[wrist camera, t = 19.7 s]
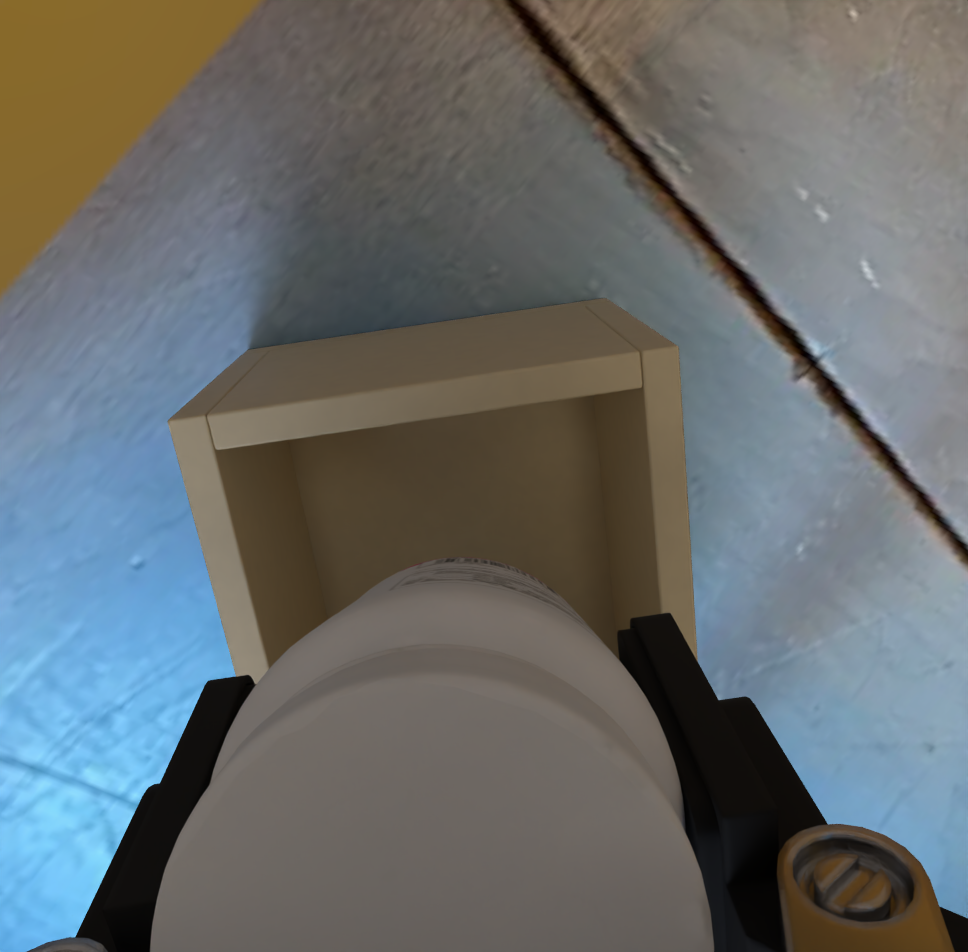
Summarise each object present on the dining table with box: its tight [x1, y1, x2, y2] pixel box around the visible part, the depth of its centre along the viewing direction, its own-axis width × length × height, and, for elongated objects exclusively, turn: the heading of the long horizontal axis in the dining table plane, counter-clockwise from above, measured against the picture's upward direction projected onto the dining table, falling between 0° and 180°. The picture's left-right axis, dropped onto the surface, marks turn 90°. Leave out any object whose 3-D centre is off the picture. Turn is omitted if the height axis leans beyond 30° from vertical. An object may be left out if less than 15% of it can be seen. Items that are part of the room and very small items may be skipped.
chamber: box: [168, 298, 698, 684], centre depth 23 cm, size 13×11×8 cm
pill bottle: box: [150, 557, 714, 952], centre depth 10 cm, size 5×5×8 cm
